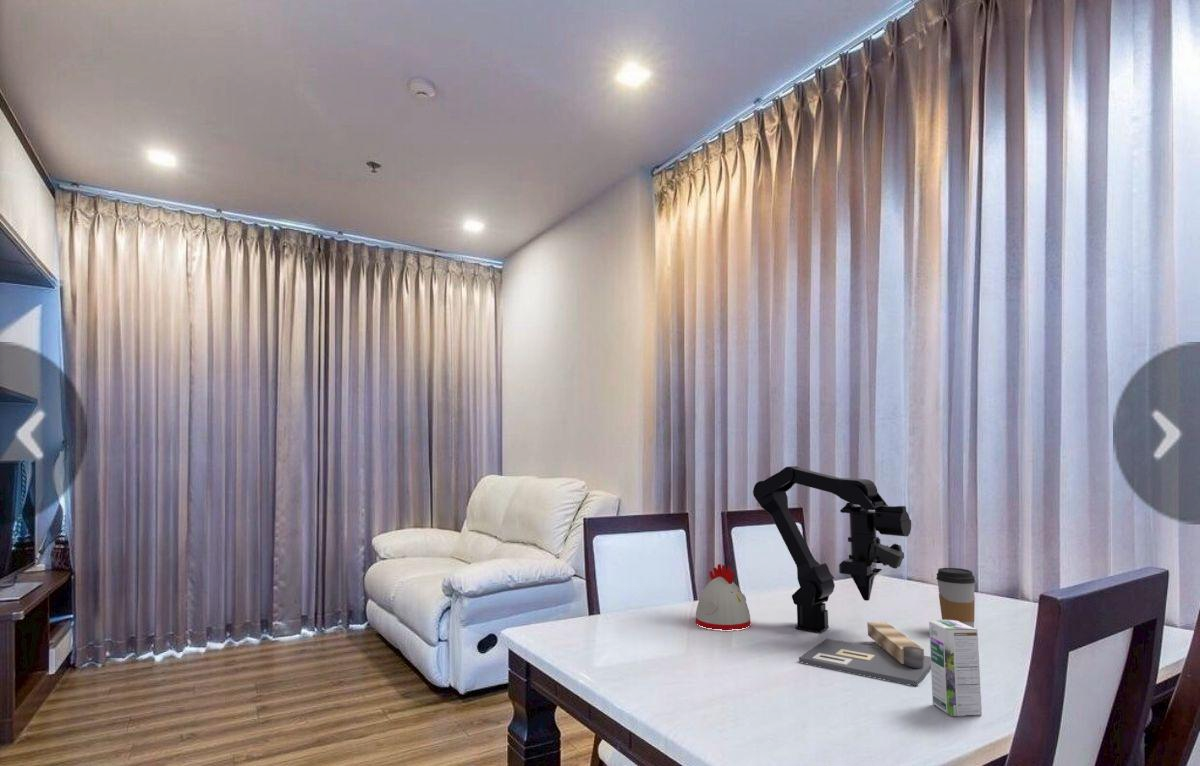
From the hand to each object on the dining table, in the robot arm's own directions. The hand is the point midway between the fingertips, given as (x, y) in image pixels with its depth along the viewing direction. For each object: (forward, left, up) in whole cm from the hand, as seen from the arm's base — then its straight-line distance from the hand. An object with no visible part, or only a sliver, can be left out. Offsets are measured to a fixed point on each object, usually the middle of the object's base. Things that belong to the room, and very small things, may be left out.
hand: (866, 600), depth 153 cm
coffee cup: (+16, +18, -9) cm, 26 cm away
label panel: (+4, -16, -9) cm, 19 cm away
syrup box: (+24, -32, -9) cm, 41 cm away
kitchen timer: (-34, -7, -10) cm, 36 cm away
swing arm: (+8, -8, -8) cm, 14 cm away
